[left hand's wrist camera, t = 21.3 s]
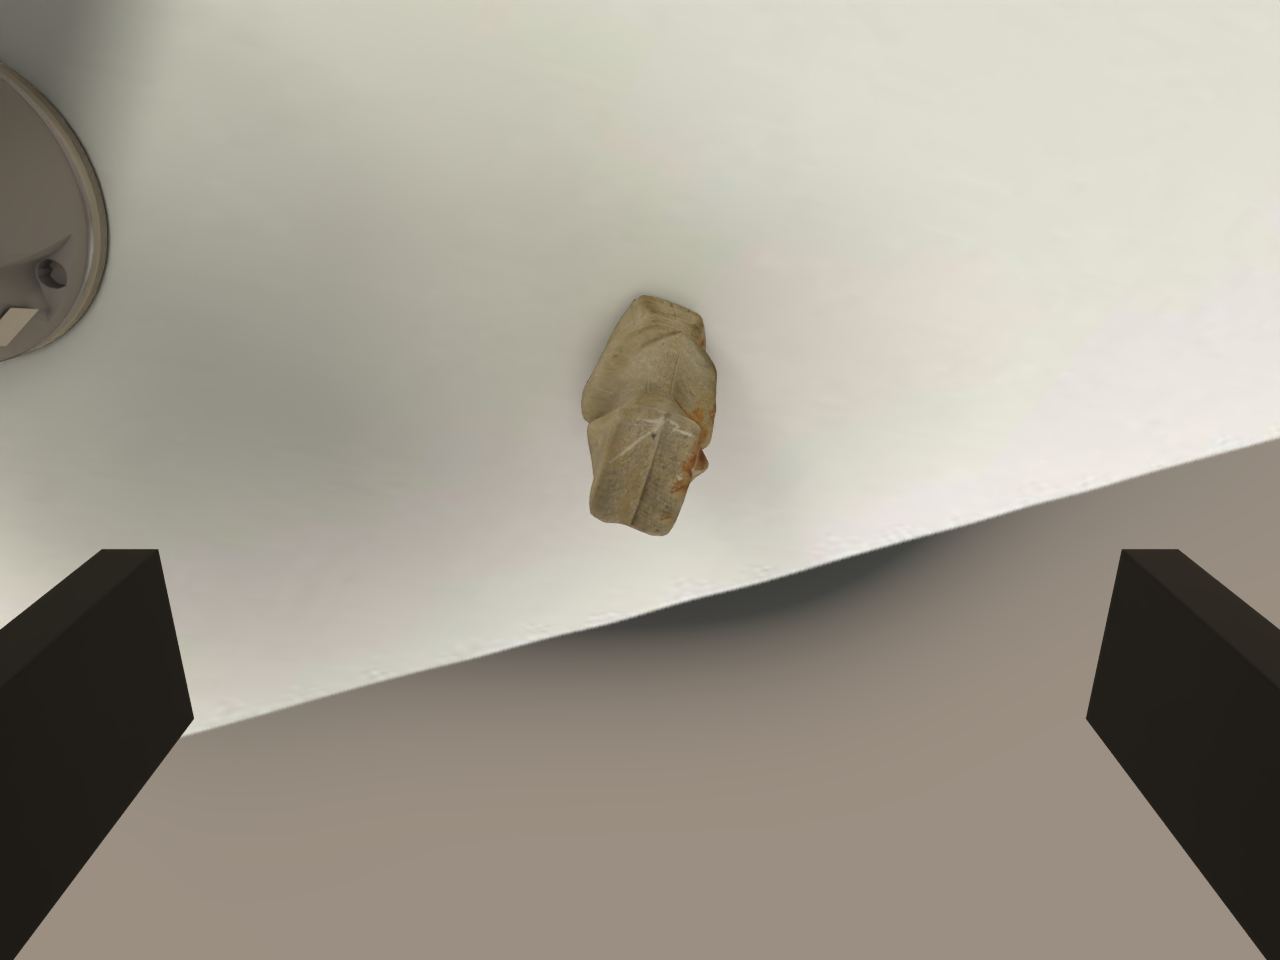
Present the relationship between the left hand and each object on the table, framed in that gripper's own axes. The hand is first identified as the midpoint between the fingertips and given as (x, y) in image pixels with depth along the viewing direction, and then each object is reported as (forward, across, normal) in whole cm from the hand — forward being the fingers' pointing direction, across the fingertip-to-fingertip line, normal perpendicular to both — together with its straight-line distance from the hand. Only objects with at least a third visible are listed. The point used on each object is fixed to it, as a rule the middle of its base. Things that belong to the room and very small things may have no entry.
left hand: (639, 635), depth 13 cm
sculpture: (+36, 0, +5) cm, 36 cm away
